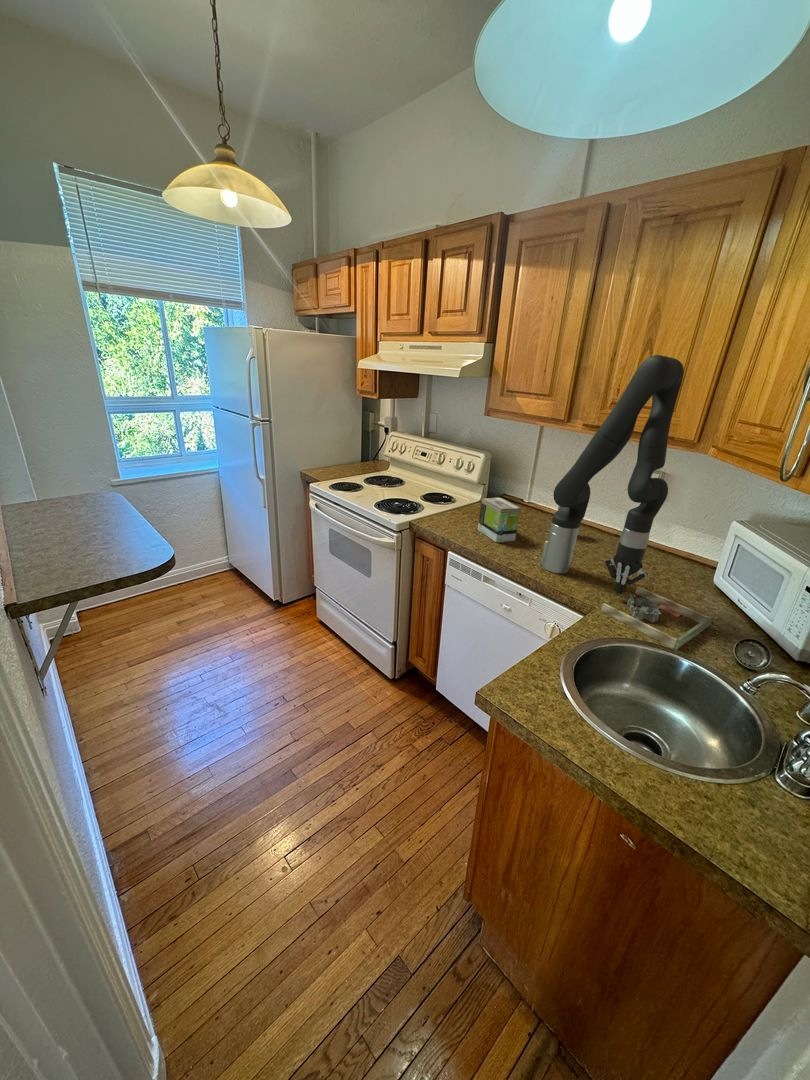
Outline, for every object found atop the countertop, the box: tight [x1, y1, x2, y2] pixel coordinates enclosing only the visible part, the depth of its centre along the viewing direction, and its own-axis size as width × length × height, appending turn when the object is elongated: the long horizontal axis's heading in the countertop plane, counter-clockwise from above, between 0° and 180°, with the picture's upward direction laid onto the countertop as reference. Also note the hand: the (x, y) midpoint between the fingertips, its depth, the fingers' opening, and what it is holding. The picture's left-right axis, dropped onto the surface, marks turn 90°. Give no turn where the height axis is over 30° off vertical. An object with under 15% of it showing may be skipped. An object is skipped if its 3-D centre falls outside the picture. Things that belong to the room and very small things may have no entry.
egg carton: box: [626, 592, 662, 624], centre depth 128 cm, size 11×8×4 cm
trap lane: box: [600, 586, 713, 651], centre depth 125 cm, size 22×22×3 cm
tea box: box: [477, 497, 522, 543], centre depth 177 cm, size 15×10×15 cm, turn 22°
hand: (618, 592), depth 134 cm, fingers closed
